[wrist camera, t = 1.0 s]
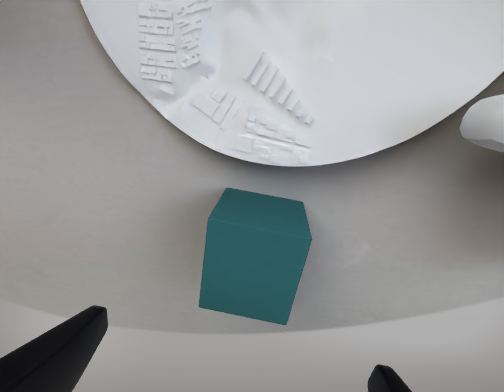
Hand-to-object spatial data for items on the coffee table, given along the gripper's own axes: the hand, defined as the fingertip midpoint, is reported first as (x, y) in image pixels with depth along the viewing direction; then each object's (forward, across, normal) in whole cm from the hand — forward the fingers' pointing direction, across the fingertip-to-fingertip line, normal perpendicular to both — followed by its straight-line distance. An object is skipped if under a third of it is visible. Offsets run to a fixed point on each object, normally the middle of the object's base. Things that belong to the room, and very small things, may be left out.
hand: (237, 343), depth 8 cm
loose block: (+7, 0, 0) cm, 7 cm away
